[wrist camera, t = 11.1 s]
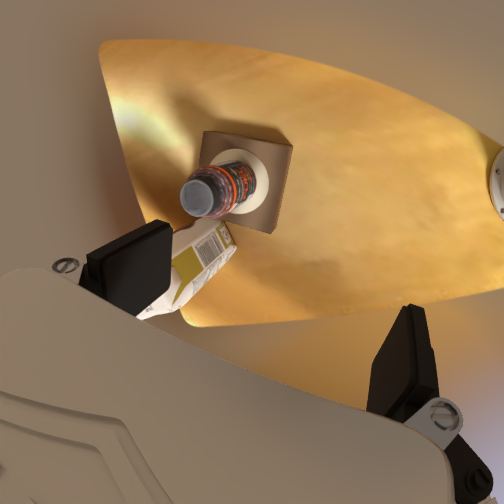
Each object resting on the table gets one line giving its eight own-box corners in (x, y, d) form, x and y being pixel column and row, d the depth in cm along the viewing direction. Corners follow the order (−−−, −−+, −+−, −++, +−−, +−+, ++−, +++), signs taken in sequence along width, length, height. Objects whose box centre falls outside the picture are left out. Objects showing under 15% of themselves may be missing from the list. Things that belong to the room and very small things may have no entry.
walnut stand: (293, 146, 39) (288, 147, 36) (276, 227, 44) (270, 234, 41) (213, 130, 41) (202, 131, 39) (202, 206, 47) (192, 212, 44)
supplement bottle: (265, 194, 39) (231, 217, 29) (227, 208, 42) (185, 234, 32) (247, 152, 38) (207, 161, 28) (210, 168, 40) (163, 183, 31)
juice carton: (244, 249, 47) (181, 316, 31) (202, 265, 51) (133, 328, 35) (222, 206, 46) (145, 253, 29) (181, 226, 49) (102, 275, 33)
